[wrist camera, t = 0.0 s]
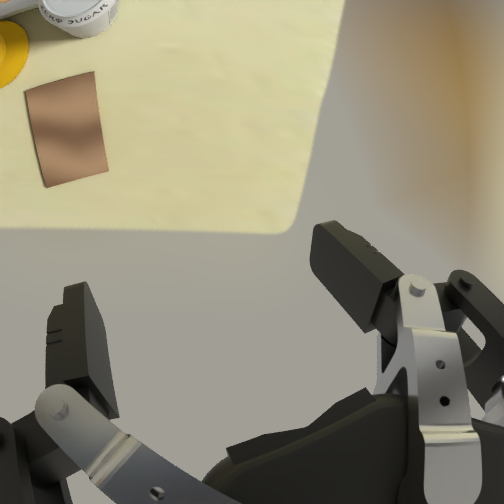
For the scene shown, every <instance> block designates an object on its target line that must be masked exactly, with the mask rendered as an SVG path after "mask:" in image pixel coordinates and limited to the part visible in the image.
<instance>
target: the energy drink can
mask: <svg viewBox="0 0 504 504" xmlns="http://www.w3.org/2000/svg"><path fill="white" fill-rule="evenodd" d="M118 3H119V0H38V7H39V10H40V12H41V14H42V16H43V17H44V18H45V19H46V20H47V21H48V22H49V23H51V24H53V25H55V26H56V27H58V28H60V29H62V30H64V31H66V32H67V33H69V34H71V35H73V36H75V37H79V38H89V37H93V36H96V35H98V34H101V33H102V32H104V31H105V30H106V29H107V28H108V27H109V26H110V25H111V24H112V23H113V21H114V20H115V18H116V15H117V12H118Z"/></svg>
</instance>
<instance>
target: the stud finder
mask: <svg viewBox="0 0 504 504" xmlns="http://www.w3.org/2000/svg"><path fill="white" fill-rule="evenodd" d="M34 8H38V0H0V20H2V19H5V18H8V17H10V16H13V15H16V14H19V13H22V12H25V11H28V10H31V9H34Z"/></svg>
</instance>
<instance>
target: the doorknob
mask: <svg viewBox="0 0 504 504" xmlns="http://www.w3.org/2000/svg"><path fill="white" fill-rule="evenodd" d="M28 52H29V41H28V37H27V34H26V32H25V30H24V29H23V28H22V27H21V26H20V25H19V24H17V23H14V22H11V21H0V88H2V87H4V86H6V85H8V84H9V83H11V82H12V81H13V80H14V79H15V78H16V77H17V76H18V75H19V73H20V72H21V70H22V69H23V67H24V65H25V63H26V60H27V57H28Z"/></svg>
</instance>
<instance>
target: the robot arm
mask: <svg viewBox="0 0 504 504" xmlns="http://www.w3.org/2000/svg"><path fill="white" fill-rule="evenodd" d="M310 266H311V269H312V271H313V273H314V275H315V276H316V277H317V278H318V279H319V280H320V282H321V283H322V284H323V285H324V286H325V287H326V288H327V290H328V291H329V292H330V293H331V294H332V295H333V297H334V298H335V299H336V300H337V301H338V302H339V304H340V305H341V306H342V307H343V308H344V309H345V311H346V312H347V313H348V314H349V315H350V316H351V318H352V319H353V320H354V321H355V322H356V324H357V325H358V326H359V327H360V328H361V329H362V331H363V332H364V333H367V332H370V331H372V330H374V329H377V330H378V331H379V333H378V336H377V382H376V386H375V389H374V393H373V395H371V394H370V393H369V391H368V390H367V389H366V387H365V388H363V389H362V390H360V391H358V392H356V393H354V394H352V395H350V396H348V397H346V398H344V399H342V400H340V401H338V402H336V403H335V404H334V405H333V406H332V407H331V408H329V409H328V410H327V411H326V412H325V413H323V414H322V415H321V416H320V417H319V418H317V419H316V420H315V421H314V422H313V423H311V424H310V425H309V426H307V427H305V428H300V429H294V430H289V431H283V432H277V433H270V434H264V435H261V436H258V437H256V438H253V439H250V440H248V441H245V442H242V443H239V444H236V445H234V446H231V447H228V448H226V450H227V454H228V457H226V458H225V459H223V460H221V461H220V462H219V463H218V464H216V465H215V466H214V467H213V468H212V469H211V470H210V471H209V472H208V473H207V475H206V476H205V477H204V479H203V480H202V481H199V480H197V479H196V478H194V477H193V476H191V475H189V474H188V473H186V472H184V471H183V470H181V469H180V468H178V467H177V466H175V465H174V464H172V463H170V462H169V461H167V460H166V459H164V458H163V457H162V456H160V455H159V454H157V453H156V452H154V451H153V450H151V449H150V448H149V447H147V446H146V445H144V444H143V443H142V442H140V441H139V440H138V439H136V438H134V437H133V436H131V435H129V434H126V433H124V432H123V431H122V430H120V429H119V428H118V427H117V426H115V425H114V424H113V423H112V422H111V421H110V419H115V418H119V412H118V407H117V402H116V397H115V391H114V386H113V380H112V374H111V368H110V361H109V354H108V346H107V339H106V331H105V327H104V322H103V319H102V317H101V314H100V312H99V309H98V307H97V305H96V303H95V301H94V298H93V296H92V293H91V291H90V288H89V286H88V284H87V282H81V283H78V284H74V285H70V286H66V287H64V294H63V304H61V305H57V306H54V307H53V309H52V312H51V313H50V315H49V317H48V320H47V336H46V344H47V346H46V372H45V375H46V387H45V390H44V391H43V392H42V393H41V394H40V395H39V397H38V399H37V401H36V404H35V410H34V411H33V412H31V413H30V414H28V415H26V416H24V417H23V418H21V419H19V420H17V421H15V422H13V423H12V424H10V423H9V422H8V421H7V420H5V419H4V418H1V417H0V504H73V503H72V500H71V496H70V492H69V488H68V484H67V480H66V477H68V476H70V475H72V474H74V473H76V472H77V471H79V470H81V469H82V470H83V471H84V472H85V473H86V474H87V475H88V476H89V479H90V480H91V481H92V483H93V484H94V485H95V486H96V487H97V488H99V489H100V490H101V491H102V492H103V493H104V494H106V495H107V496H108V497H109V498H110V499H111V500H113V501H114V502H115V503H116V504H504V304H503V303H502V302H501V301H500V300H499V299H498V298H497V297H496V296H495V295H494V294H493V293H492V292H491V291H490V290H489V289H488V288H487V287H486V286H485V285H484V284H483V283H482V282H480V281H479V280H478V279H477V278H476V277H475V276H474V275H472V274H471V273H469V272H466V271H463V270H455V271H453V272H452V273H451V274H450V276H449V278H448V281H447V282H446V283H436V284H433V283H432V282H431V281H430V280H428V279H427V278H425V277H423V276H421V275H418V274H406V275H405V274H403V273H402V272H401V271H400V270H399V269H398V268H397V267H396V266H395V265H394V264H393V263H391V262H390V261H389V260H388V259H387V258H386V257H385V256H384V255H382V254H381V253H380V252H378V250H377V249H376V248H375V247H373V246H371V244H370V243H369V242H368V241H366V240H365V239H364V238H363V237H362V236H360V235H358V234H356V233H354V232H351V231H348V230H347V229H345V228H344V227H343V226H342V225H341V224H340V223H338V222H337V221H335V220H333V221H329V222H325V223H321V224H317V225H315V227H314V229H313V236H312V244H311V252H310ZM467 317H468V318H469V319H470V320H471V321H472V322H473V323H474V325H475V326H476V327H477V328H478V329H479V330H480V331H481V332H482V333H483V335H484V337H485V339H486V344H485V347H484V348H483V350H481V349H480V348H479V347H478V346H477V345H476V343H475V342H474V341H473V340H472V339H471V338H470V336H469V335H468V334H467V333H466V332H465V331H464V330H463V329H462V325H463V323H464V321H465V320H466V318H467ZM467 388H468V389H469V391H470V392H471V394H472V395H473V396H474V398H475V399H476V400H477V402H478V403H479V404H480V406H481V407H482V408H483V410H484V411H485V414H486V415H485V416H484V417H483V418H482V421H481V420H477V419H474V418H471V415H470V406H469V398H468V391H467Z"/></svg>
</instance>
